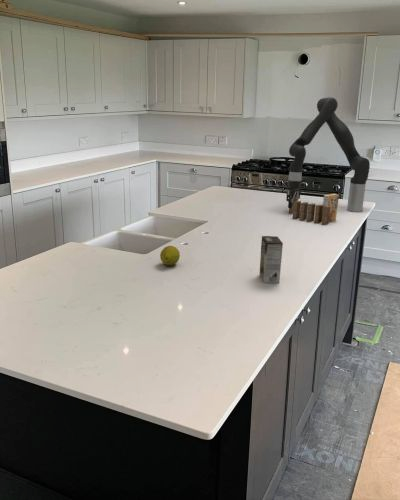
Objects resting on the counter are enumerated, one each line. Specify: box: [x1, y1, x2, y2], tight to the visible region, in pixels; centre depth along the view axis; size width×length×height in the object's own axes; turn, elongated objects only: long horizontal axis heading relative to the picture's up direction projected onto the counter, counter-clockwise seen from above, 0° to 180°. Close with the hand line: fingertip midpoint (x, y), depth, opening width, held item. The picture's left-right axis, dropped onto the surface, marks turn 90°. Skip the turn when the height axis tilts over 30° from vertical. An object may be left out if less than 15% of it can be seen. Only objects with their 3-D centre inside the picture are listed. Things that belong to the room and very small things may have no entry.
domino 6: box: [320, 206, 331, 226], centre depth 283 cm, size 5×2×10 cm, turn 142°
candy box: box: [321, 193, 340, 223], centre depth 289 cm, size 9×4×15 cm, turn 129°
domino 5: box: [313, 203, 323, 225], centre depth 286 cm, size 5×2×10 cm, turn 142°
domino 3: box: [299, 201, 309, 222], centre depth 291 cm, size 5×2×10 cm, turn 142°
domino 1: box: [288, 196, 297, 215], centre depth 307 cm, size 5×2×10 cm, turn 142°
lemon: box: [159, 245, 181, 266], centre depth 209 cm, size 11×8×8 cm
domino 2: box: [292, 200, 302, 220], centre depth 293 cm, size 5×2×10 cm, turn 142°
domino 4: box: [306, 202, 317, 223], centre depth 288 cm, size 5×2×10 cm, turn 142°
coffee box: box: [258, 235, 284, 284], centre depth 196 cm, size 9×6×16 cm
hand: (292, 207), depth 307 cm, fingers open, 6 cm apart
